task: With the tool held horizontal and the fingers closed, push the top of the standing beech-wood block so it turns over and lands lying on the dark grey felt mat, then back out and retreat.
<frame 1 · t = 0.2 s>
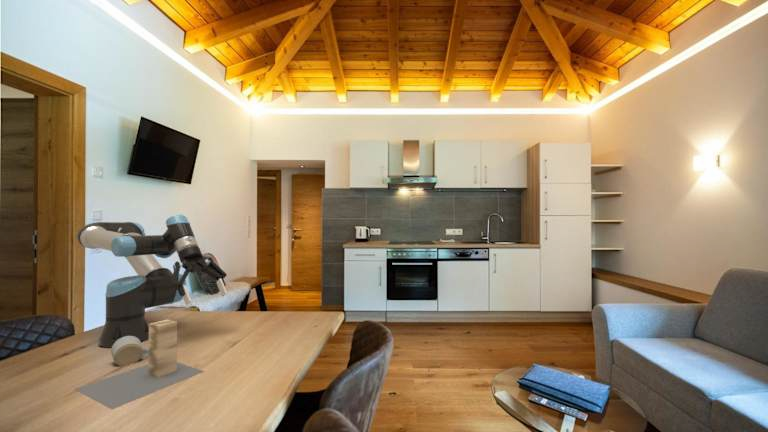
hand: (207, 298, 122), 16 cm above the table, tool tilted 35°, fingers open, 13 cm apart
ceramic mug: (132, 362, 104), on the table
beech block: (162, 372, 94), point 1 cm above the table, touching felt mat
felt mat: (142, 383, 89), on the table
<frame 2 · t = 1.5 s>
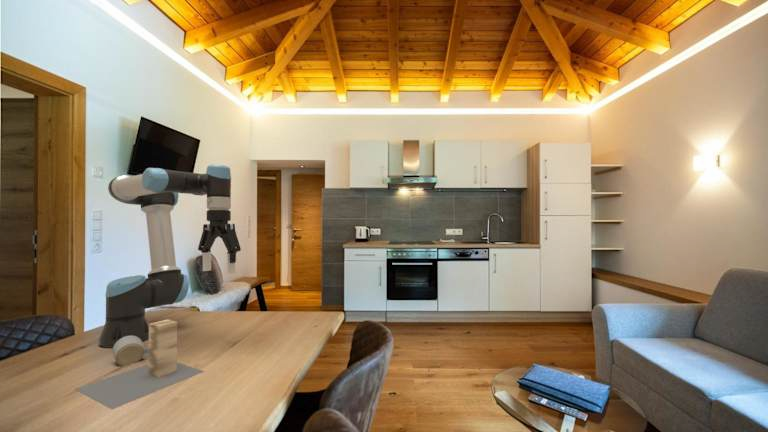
hand: (218, 271, 114), 27 cm above the table, tool pointing down, fingers open, 12 cm apart
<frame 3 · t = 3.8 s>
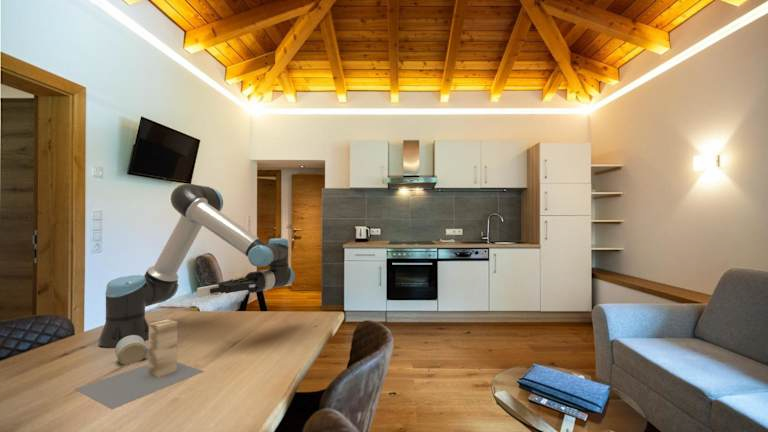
hand: (198, 292, 103), 22 cm above the table, tool horizontal, fingers closed
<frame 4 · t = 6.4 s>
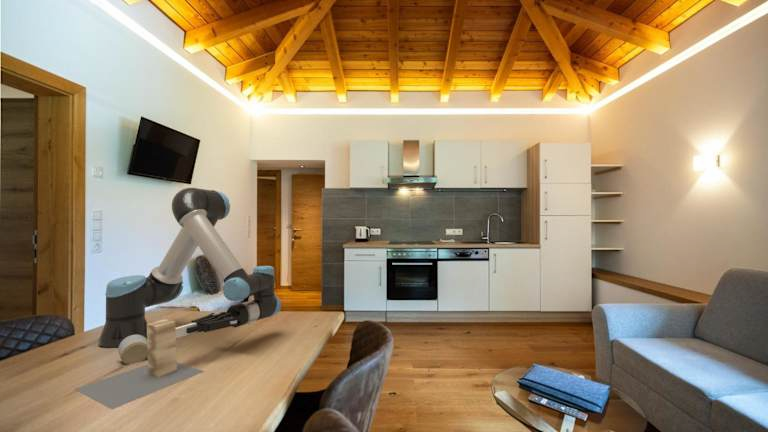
hand: (173, 333, 96), 11 cm above the table, tool horizontal, fingers closed
beech block: (162, 372, 94), point 1 cm above the table, touching felt mat, gripper
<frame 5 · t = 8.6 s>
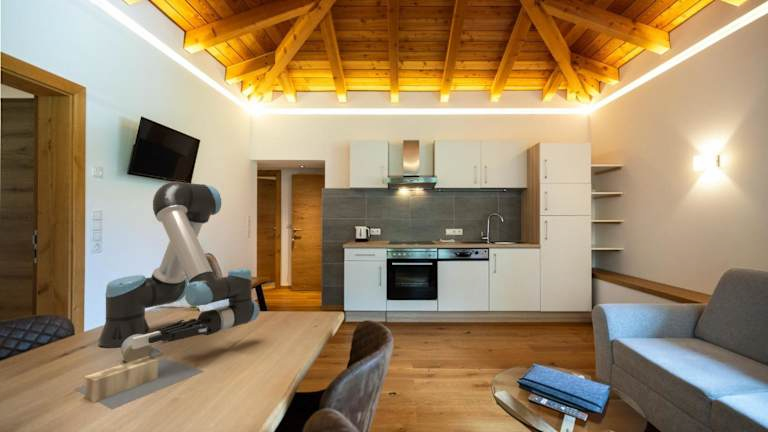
hand: (133, 343, 87), 11 cm above the table, tool horizontal, fingers closed
beech block: (152, 366, 92), point 3 cm above the table, tilted 90°, touching felt mat
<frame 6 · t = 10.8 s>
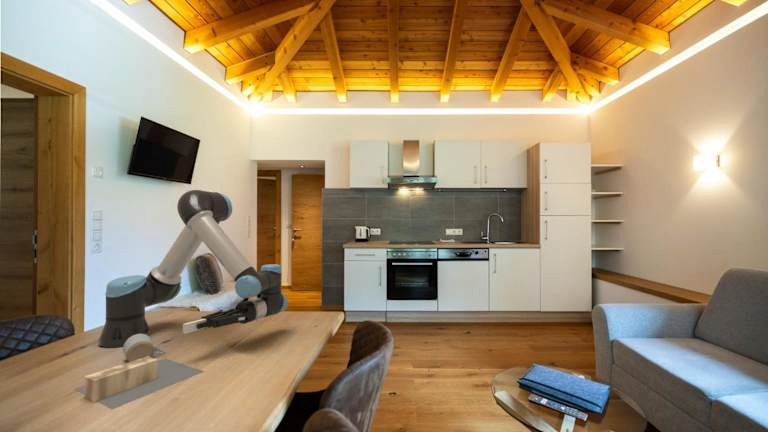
hand: (184, 328, 99), 12 cm above the table, tool horizontal, fingers closed
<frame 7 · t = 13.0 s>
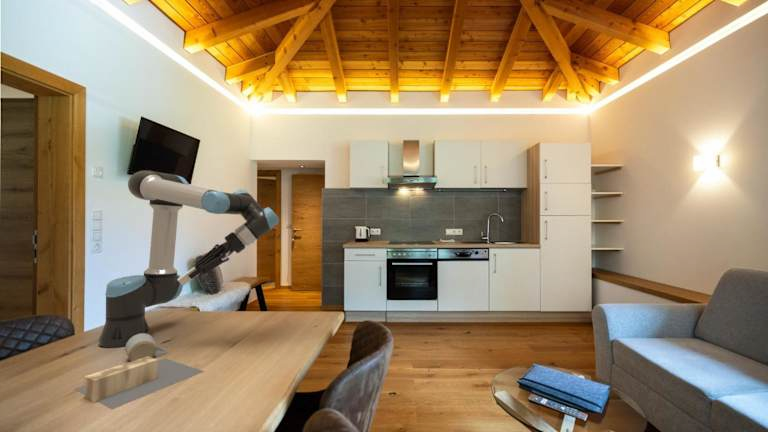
hand: (180, 282, 113), 23 cm above the table, tool tilted 55°, fingers closed
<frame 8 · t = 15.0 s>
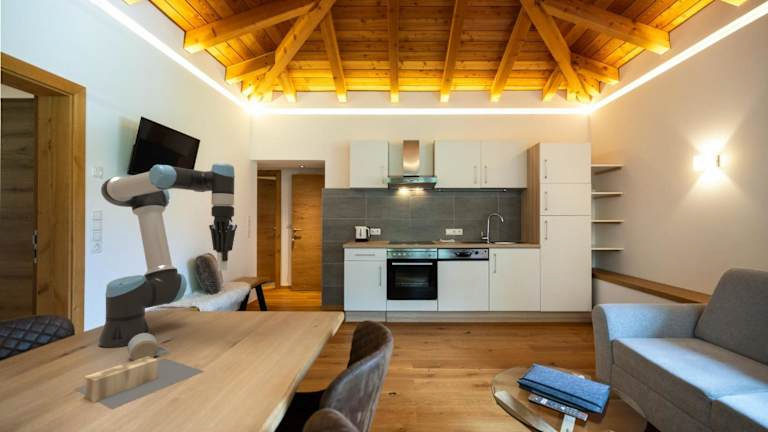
hand: (222, 270, 121), 26 cm above the table, tool pointing down, fingers closed
at the end: beech block tilted 90°; beech block inside the target area (4.5 cm from its centre), point 3.5 cm above the table; the gripper is holding nothing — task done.
